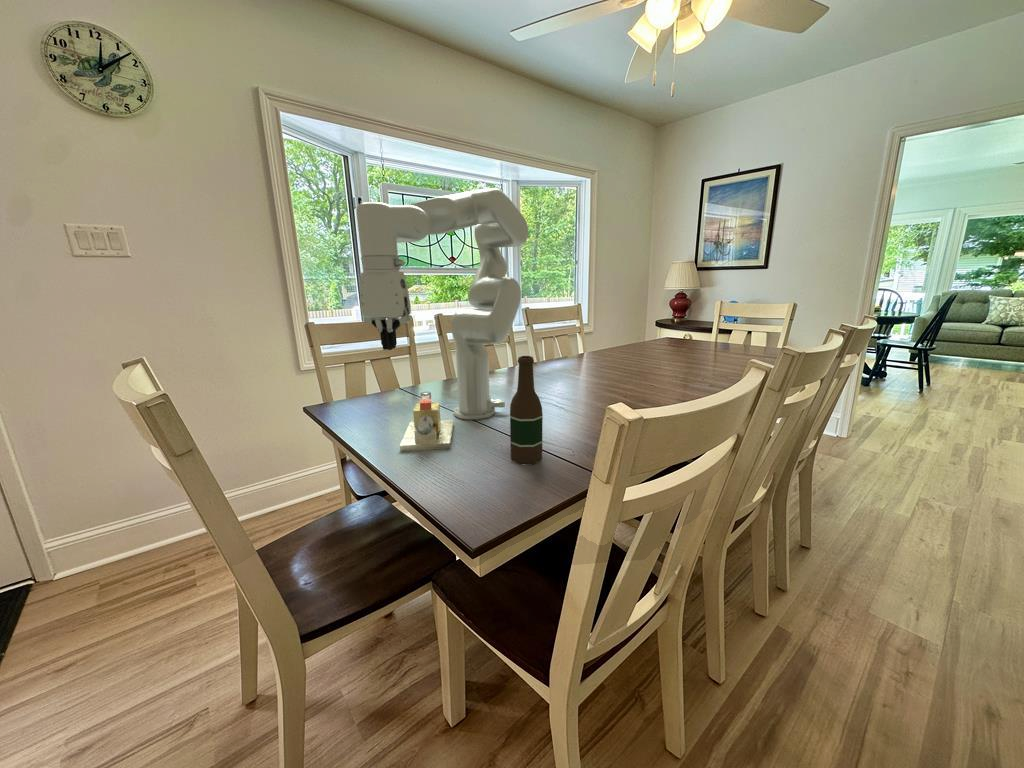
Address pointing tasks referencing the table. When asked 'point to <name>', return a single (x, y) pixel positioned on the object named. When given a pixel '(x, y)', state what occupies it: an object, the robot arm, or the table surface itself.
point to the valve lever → (425, 401)
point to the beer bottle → (526, 417)
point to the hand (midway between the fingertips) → (389, 348)
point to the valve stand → (427, 430)
